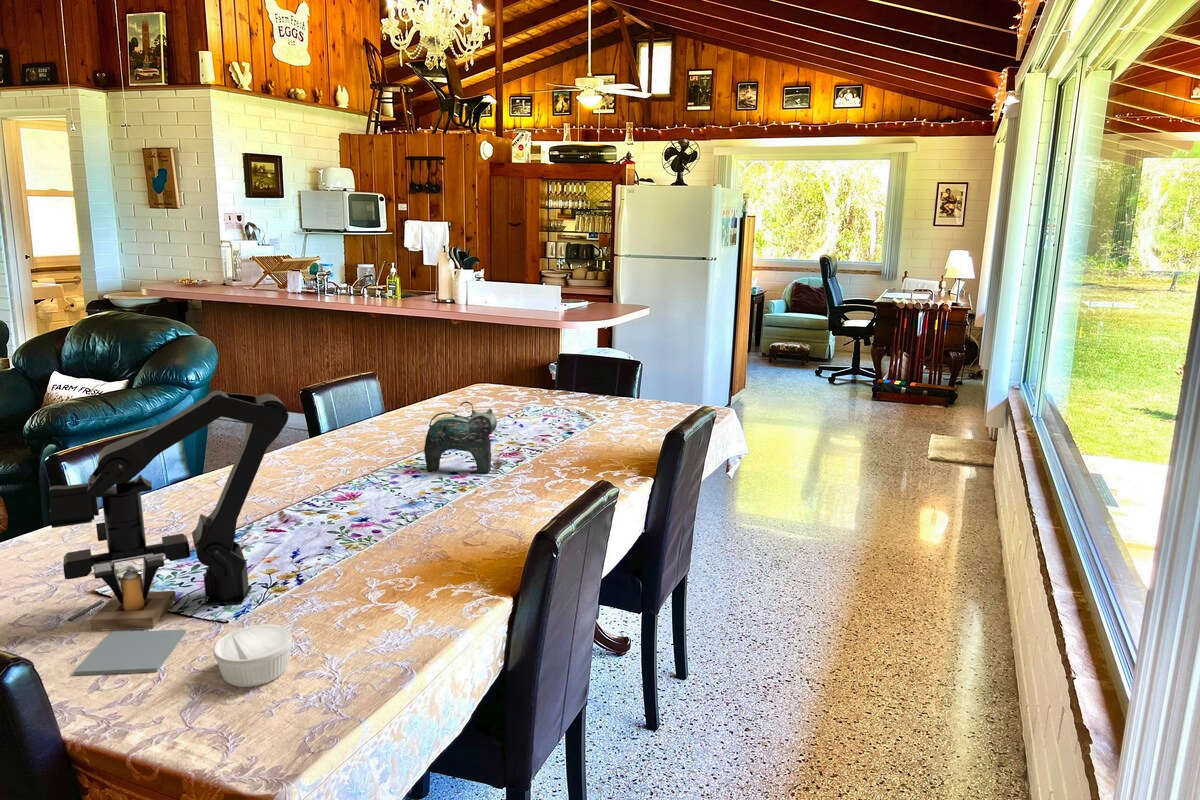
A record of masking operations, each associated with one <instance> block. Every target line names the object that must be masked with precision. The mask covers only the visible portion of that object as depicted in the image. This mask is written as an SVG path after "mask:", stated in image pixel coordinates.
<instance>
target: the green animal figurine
mask: <svg viewBox="0 0 1200 800" xmlns="http://www.w3.org/2000/svg"><path fill="white" fill-rule="evenodd" d="M464 404H469V405H470V406H471V409H472V410H471V414H470V415H468V416H462V415H458V414H456V413H454V412H449V411H448V412H440V413H437V414H434V416H433V417H432V418H431V419H430V421H429V425H428V431H427V433H426V436H425V440H424V441H425V442H424V447H423V448H424V449H423V450H424V451H423V453H424V459H425V466H426V467H425V468H426V471H429V472H438V471H439V470H440V463H441V457H442V455H443V453H445V452H446V451H449V450H456V451H462V452H468V453H470V455H472V458H473V459H474V461H475V465H476V473H477V474H478V475H479V474H485V475H486V474H489V473H490V472H491V470H492V468H491V467H492V452H491V451H492V444H491V440H490V435H492V433H493V432H494V431H495V430H496V428H497V425H498V421H497V417H496V416H495V415H494V412H493V409H492V408H490V407H489V409H488V410H487V411H486V412H485V411H483V412H478V411H476V410H475V409H474V405H473V404H472V403H471V401H468V400H467V401H462V402H461V404H459V405H460V407H462V405H464ZM445 414H447V415H452V416H446V417H441V418H439V419H437V420H435V422H434V423H432V421H433V420H434V419H436V418H437V417H438V416H441V415H445Z"/></svg>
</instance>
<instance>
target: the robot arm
mask: <svg viewBox="0 0 1200 800" xmlns="http://www.w3.org/2000/svg"><path fill="white" fill-rule="evenodd" d="M219 418H228V419H231V420H234V421H239V422H242V423H246V424H245V430H244V431H245V432H244V439H243V441H242V444H241V446H240V448H239V452H238V454H237V456H236V458H235V461H234V462H233V465H232V468H231V470H230V471H229V475H228V477H227V479H226V482H225V484H224V487H223V488H222V491H221V493H220V496H219V499H218V501H217V504H216V506H215V507H214V509H213V511H211V513H210V514H209V515H208V516H206V515H205V514H200V515H199V517H198V522H197V525H196V527H195V528H194V530H193V531H192V532H191V535H192V540H193V541H192V542H193V545H194V550H195V555H196V559H197V560H198V562H199V563H201V564H202V565H203V566H206V567H207V568H206V569H205V573H206V574H205V575H204V576H203V584H204V585H203V586H204V593H205V594H204V595H205V598H206V600H205V601H204V602H205V604H204V605H231V604H236V605H237V604H242V603H244V601H245V599H246V598H247V596H248V595H249V594H250V592H251V590H252V588H253V587H252V585H249V575H248V564H247V563H248V562H247V561H246V558H245V556H244V553H243V550H242V548H241V545H240V543H238V542H236V541H235V538H236V531H237V524H238V523H237V521H238V518H239V515H240V513H241V511H242V508H243V506H244V504H245V502H246V500H247V497H248V494H249V491H250V490H251V487H252V485H253V483H254V480H255V477H256V475H257V474H258V471H259V468H260V465H261V464H262V461H263V459H264V456H265V454H266V451H267V449H268V448H269V447H270V446H271V445H272V444H273V443H274V442H275V441H276V439H277V438H278V437H279V435H280V434H281V433H282V431H283V429H284V428H285V427H286V424H288V420H289V410H288V409H287V407H286V406H285V404H284V403H283V401H282V400H281V399H280V398H279V397H278V396H276V395H275V394H272V393H262V394H259V395H258V396H257V395H251V394H246V393H233V392H227V391H226V392H225V391H222V390H214V391H211V392H210V393H208V394H207V395H206V396H205V397H204V398H201V399H200V400H199V401H197V402H195V403H193V404H192V405H190V406H188V407H186V408H185V409H183V410H182V411H180V412H178V413H176V414H175V415H173V416H171V417H168V419H166V420H164V421H163V422H160V423H159V424H158V425H156V426H154V427H152V428H150V429H149V430H147V431H144V432H141V433H139V434H135V435H131V436H128V437H125V438H122V439H120V440H117V441H115V442H113V443H109V444H108V445H106V446H104V447H103V448H102V449H101V451H100V452H99V454H98V458H97V466H96V468H95V469H94V471H93V472H91V475H89V478H88V480H87V482H86V483H78V484H77V483H76V484H69V485H52V486H50V487H49V490H48V493H49V511H48V515H49V516H48V517H49V522H50V526H51V528H52V529H56V528H61V527H63V528H64V527H70V526H76V525H83V524H91V523H93V520H96V519H95V517H98V516H100V508H99V500H98V498H101V503H102V511H103V517H104V522H99V523H95V525H96V526H95V527H96V534H97V537H96V538H97V541H98V542H103V541H104V542H105V541H106V545H107V551H108V552H104V553H98V554H92V550H91V548H88V549H80V550H75V551H69V552H66V553H65V555H64V556H63V575H64V580H73V579H74V580H75V579H78V578H84V577H88V576H90V574H91V573H92V571H94V572H93V573H94V579H96V580H98V579H99V580H100V579H102V581H103V582H104V583H105V584H106V585H107V586H108V587H109V588H110V590H111V592H113V594H114V595H115V596H116V597H117V599H118V600H119V602H120V604H123V596H122V589H121V583H120V581H119V578H118V576H117V573H116V570H115V565H114V563H117V562H120V563H123V562H128V561H132V560H140V559H143V560H142V561H143V566H144V568H143V573H142V574H143V575H142V585H143V596H144V599H147V595H148V592H150V590H151V589H150V588H151V585H152V582H153V579H154V578H155V575H156V573H157V571H158V570H157V569H158V568H159V567H163V566H164V565H165V561H164V557H165V559H166V560H169V561H170V562H174V561H179V560H184V559H185V560H186V559H188V558H189V557H191V551H190V550H191V549H190V544H189V540H188V536H187V535H186V534H184V533H178V534H171V535H166V536H162V537H161V543H156V544H150V545H147V540H146V531H145V522H144V513H143V504H142V495H141V493H144V492H151V491H152V490H153V484H152V481H150V480H148V479H147V478H144V477H143V475H141V474H140V473H141V472H142V471H144V469H146V467H148V466H149V465H150V463H151V462H152V461H153V460H154V459H155V458H156V457H158V455H160V454H161V453H162V452H164V451H166V450H168V449H169V448H171V447H172V446H174V445H176V444H178V443H180V442H181V441H183V440H184V439H186V438H188V437H190V436H191V435H193V434H194V433H196V432H197V431H199V430H201V429H202V428H204V427H206V426H208V425H210V424H211V423H212V422H214V421H216V420H218V419H219ZM137 475H138V476H137ZM136 476H137V477H136ZM135 477H136V478H135ZM133 479H134V480H133Z"/></svg>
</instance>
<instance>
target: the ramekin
mask: <svg viewBox="0 0 1200 800" xmlns="http://www.w3.org/2000/svg"><path fill="white" fill-rule="evenodd" d="M292 644H293V634H292V632H291V631H290V630H289V629H288V628H287V627H284V626H282V625H279V624H272V623H271V624H270V623H269V624H267V623H266V624H265V623H264V624H263V623H262V624H254V625H253V624H252V625H249V626H245V627H242V628H238V629H236V630H233V631H231V632H229V633H227V634H226V635H224V636H222V637H221V638H220V639H219V640H217V642H216V643H215V644H214V647H213V651H212V652H213V656H214V659H215V660H216V662H217V666H218V668H219V671H220V674H221V677H222V679H223V680H224V681H225V682H226V683H228V684H230V685H232V686H234V687H239V688H249V687H250V688H251V687H256V686H260V685H264V684H267V683H270V682H273V681H274V680H276V679H277V678H279V677H280V676H281V675H282V674H283V673H284V672H285V671H286V669H287V667H288V666H289V663H290V656H291V649H292V647H291V646H292Z"/></svg>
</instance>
